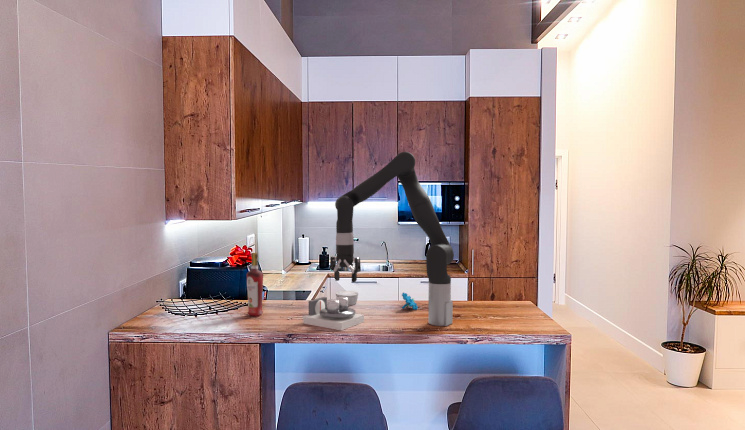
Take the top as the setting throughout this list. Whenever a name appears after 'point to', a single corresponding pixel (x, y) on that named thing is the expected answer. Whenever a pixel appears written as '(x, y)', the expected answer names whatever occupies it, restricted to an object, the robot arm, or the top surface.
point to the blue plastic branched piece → (409, 301)
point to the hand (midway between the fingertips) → (345, 281)
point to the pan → (340, 315)
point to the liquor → (254, 288)
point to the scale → (327, 322)
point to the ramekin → (350, 294)
